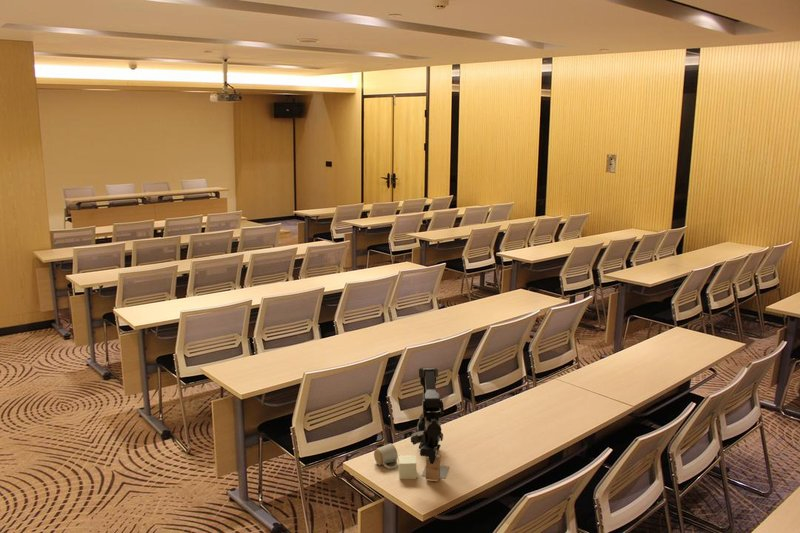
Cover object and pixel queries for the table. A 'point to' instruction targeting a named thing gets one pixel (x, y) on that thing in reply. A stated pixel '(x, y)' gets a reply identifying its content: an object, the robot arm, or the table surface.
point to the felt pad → (442, 471)
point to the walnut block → (433, 469)
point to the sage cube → (407, 466)
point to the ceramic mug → (386, 455)
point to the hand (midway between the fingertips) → (431, 463)
